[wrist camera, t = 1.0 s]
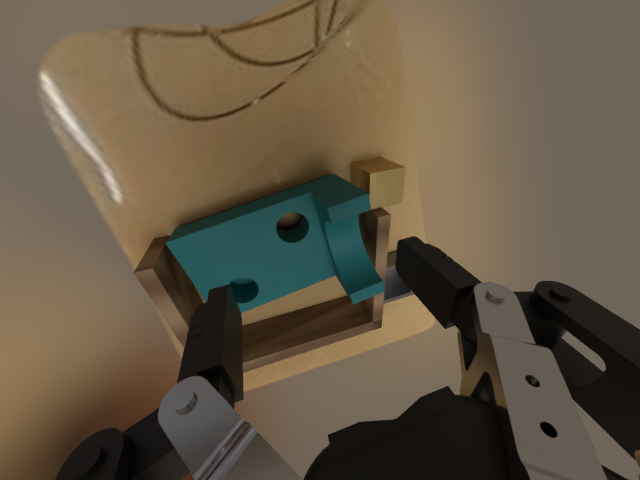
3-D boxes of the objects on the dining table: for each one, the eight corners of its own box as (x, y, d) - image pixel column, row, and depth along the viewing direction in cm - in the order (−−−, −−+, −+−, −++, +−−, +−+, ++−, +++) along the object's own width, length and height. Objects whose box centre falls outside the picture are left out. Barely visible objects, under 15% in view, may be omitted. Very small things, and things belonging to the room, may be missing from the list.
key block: (350, 162, 28) (370, 173, 24) (381, 157, 28) (405, 166, 24) (351, 194, 30) (369, 210, 26) (379, 188, 31) (401, 202, 26)
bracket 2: (153, 238, 25) (133, 272, 21) (365, 195, 30) (390, 214, 25) (212, 344, 36) (208, 384, 31) (364, 299, 41) (381, 327, 36)
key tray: (364, 258, 36) (374, 270, 33) (408, 247, 37) (420, 258, 35) (364, 294, 40) (372, 307, 37) (403, 282, 41) (413, 294, 39)
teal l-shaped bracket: (329, 171, 28) (368, 193, 19) (348, 246, 33) (385, 291, 24) (179, 223, 26) (142, 275, 17) (223, 294, 31) (213, 362, 22)
